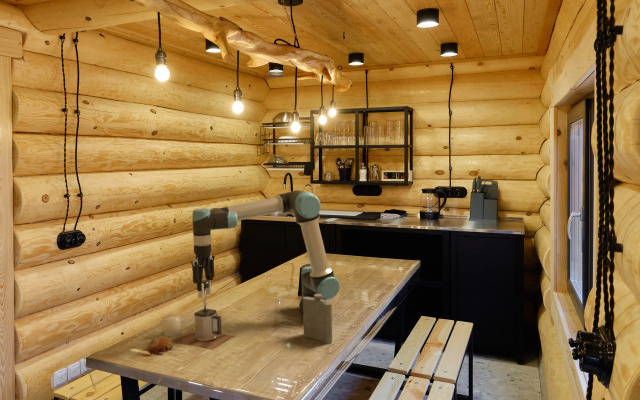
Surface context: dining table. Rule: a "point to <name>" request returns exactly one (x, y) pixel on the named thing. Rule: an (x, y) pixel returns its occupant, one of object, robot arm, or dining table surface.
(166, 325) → the cream egg shape
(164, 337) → the bread roll
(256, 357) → the dining table surface
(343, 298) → the dining table surface
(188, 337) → the board
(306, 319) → the grey upright slab
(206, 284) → the plunger
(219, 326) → the grey faceted handled container
